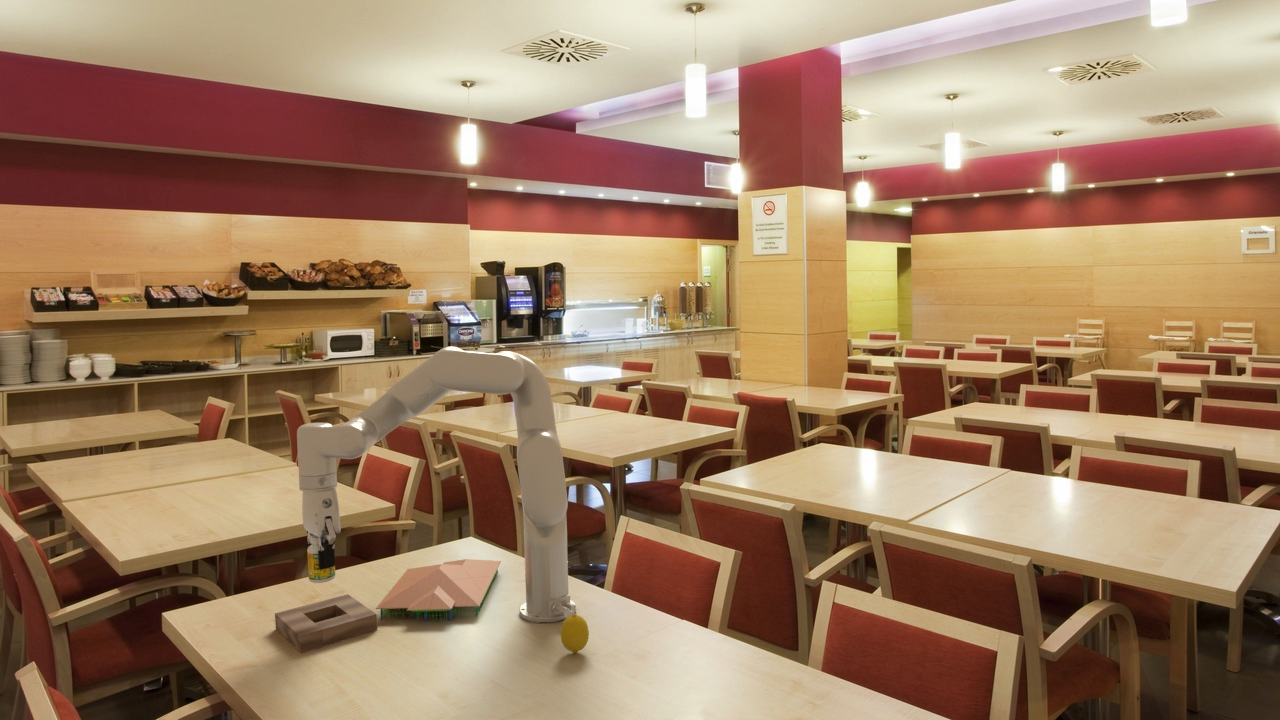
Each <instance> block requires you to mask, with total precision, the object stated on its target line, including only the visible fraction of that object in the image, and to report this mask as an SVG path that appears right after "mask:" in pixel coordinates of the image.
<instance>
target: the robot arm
mask: <svg viewBox="0 0 1280 720" xmlns="http://www.w3.org/2000/svg"><path fill="white" fill-rule="evenodd" d="M452 391H455V392H465V393H466V392H467V393H478V394H490V395H509V394H510V396H511V398H512V402H513V408H514V410H513V411H514V415H515V416H514V417H515V423H516V431H517V445H516V460H517V461H516V463H517V469H518V471H517V472H518V477H519V487H520V494H521V503H522V504H521V505H522V511H523V513H522V514H523V542H524V544H523V545H524V547H523V548H524V571H525V573H524V576H525V602H524V603H523V604H521V606H520V607H519V616H520V618H522V619H524V620H526V621H528V622H532V623H540V622H547V623H553V622H559V621H563V620H565V619H566V618H567V617H569V616H571V615H572V614H576V611H577V605H576V602H574V601H573V600H571V594H569V569H568V567H569V565H568V562H569V561H568V528H567V527H568V525H567V524H568V523H567V511H568V503H569V501H568V492H567V484H566V483H567V482H566V475H565V473H566V472H565V466H564V457H563V450H562V445H561V442H560V439H559V437H558V431H557V426H556V416H555V411H554V403H553V397H552V393H551V388H550V386H549V382H548V380H547V377H546V376H545V374H544V372H543V371H542V370H541V369H540V367H539V366H538V365H537V364H536V363H535V362H534V361H533V360H531V359H530V358H528V357H527V356H524V355H522V354H520V353H518V352H514V351H510V350H504V351H503V350H501V351H498V352H496V353H489V352H479V351H469V350H463V349H462V348H460V347H457V346H452V345H450V346H446V347H443V348H440V350H437V351H436V352H435V353H434V354H433V355H432V356H430V357H429V358H427V359H425V361H423V362H422V363H421V364H419V365H417V366H416V367H415V368H413V370H411V371H409V372H408V373H407V374H405V375H404V376H403V377H401V378H400V379H399V380H397V381H396V382H395V383H394V384H392V385H391V386H390V387H389V388H388V390H387V391H386V392H385V393H384V394H383V395H382V396H380V397H379V398H378V399H377V400H375V401H374V402H373V403H371V404H370V405H369V406H367V407H366V408H365V409H363V410H362V411H361V412H359V413H358V414H357V415H355V416H354V417H352V418H351V419H349V420H348V421H347V422H345V423H343V424H341V425H339V424H338V425H333V424H332V423H329V422H311V423H304V424H302V425H300V426H299V427H298V428H297V430H296V441H297V443H296V445H297V463H298V465H297V466H298V467H297V468H298V487H299V491H300V492H302V500H301V501H302V506H301V507H302V508H301V510H302V525H303V528H304V530H306V534H307V548H308V547H309V546H310V545H312V544H311V543H310V536H312V535H315V536H317V537H318V540H319V547H320V550H319V551H318V559H319V569H325V568H330V567H334V566H335V567H336V560H335V558H336V557H335V547H336V545H335V542H336V540H337V535H338V534H340V533H341V529H342V528H341V518H340V508H339V507H340V506H339V498H338V494H337V493H338V492H337V489H336V488H338V475H337V474H338V473H337V472H338V471H337V470H338V469H337V468H338V467H337V459H343V460H344V459H345V460H353V459H357V458H358V459H359V458H361V456H363V455H364V454H365V453H366V452H367V451H368V450H370V449H371V448H372V447H373V446H375V444H376V443H378V442H379V441H380V440H382V439H383V438H385V437H386V436H387V435H388V434H390V433H391V432H393V431H394V430H395V429H396V428H398V427H399V426H401V425H402V424H404V423H405V422H407V421H409V420H411V419H412V420H413V419H415V418H416V417H418V416H419V415H421V414H422V413H424V412H425V411H426V410H428V409H429V408H431V406H433V405H434V404H435V403H437V402H438V401H440V400H441V399H442V398H444V397H445V396H446V395H447V394H449V393H451V392H452ZM322 533H327V535H323V534H322ZM323 538H327V540H325V541H324V543H323Z"/></svg>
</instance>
